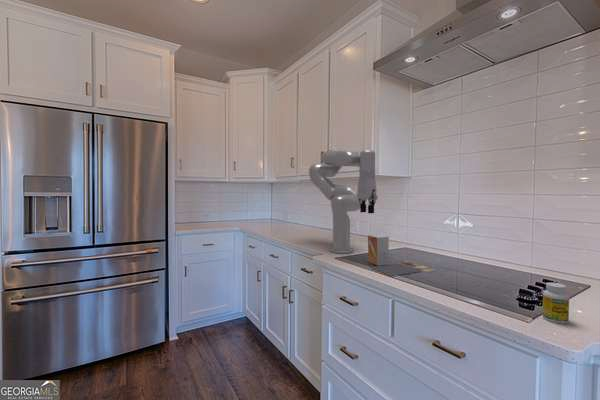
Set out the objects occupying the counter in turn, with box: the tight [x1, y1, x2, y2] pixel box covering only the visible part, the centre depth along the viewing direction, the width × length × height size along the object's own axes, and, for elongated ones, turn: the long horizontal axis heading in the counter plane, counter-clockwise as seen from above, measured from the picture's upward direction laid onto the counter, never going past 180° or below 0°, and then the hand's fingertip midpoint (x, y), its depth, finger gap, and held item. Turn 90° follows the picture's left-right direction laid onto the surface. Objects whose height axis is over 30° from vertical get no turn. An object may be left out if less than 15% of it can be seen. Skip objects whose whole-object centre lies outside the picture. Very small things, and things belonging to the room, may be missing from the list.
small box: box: [367, 234, 390, 266], centre depth 137 cm, size 8×6×13 cm
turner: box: [400, 259, 436, 273], centre depth 132 cm, size 17×5×1 cm, turn 23°
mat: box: [369, 263, 422, 278], centre depth 127 cm, size 14×16×1 cm
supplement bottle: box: [542, 282, 570, 325], centre depth 79 cm, size 5×5×10 cm
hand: (367, 212), depth 144 cm, fingers open, 5 cm apart
